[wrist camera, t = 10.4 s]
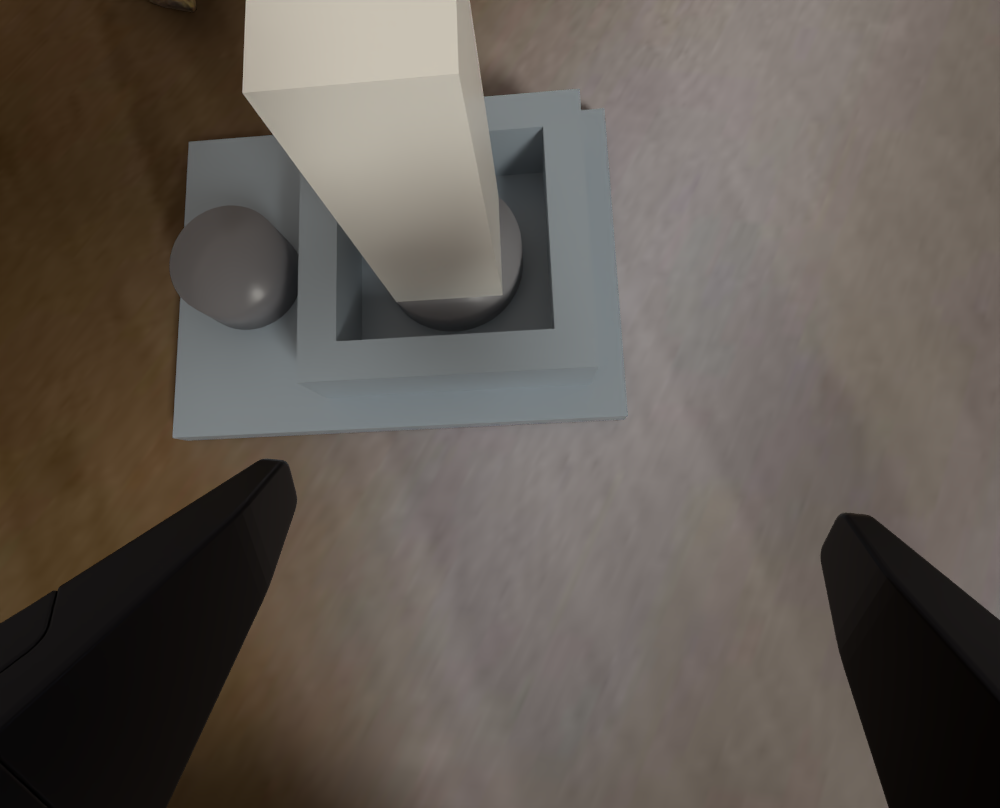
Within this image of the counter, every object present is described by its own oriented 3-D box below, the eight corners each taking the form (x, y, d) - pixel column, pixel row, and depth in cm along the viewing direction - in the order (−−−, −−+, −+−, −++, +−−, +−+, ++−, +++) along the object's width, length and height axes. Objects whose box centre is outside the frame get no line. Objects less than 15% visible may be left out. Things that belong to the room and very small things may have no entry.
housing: (624, 419, 23) (640, 402, 19) (187, 440, 24) (119, 428, 20) (601, 123, 25) (613, 54, 21) (202, 155, 26) (142, 94, 23)
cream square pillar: (526, 327, 23) (505, 110, 10) (386, 335, 23) (198, 136, 11) (519, 195, 24) (493, -153, 11) (385, 205, 24) (211, -121, 12)
